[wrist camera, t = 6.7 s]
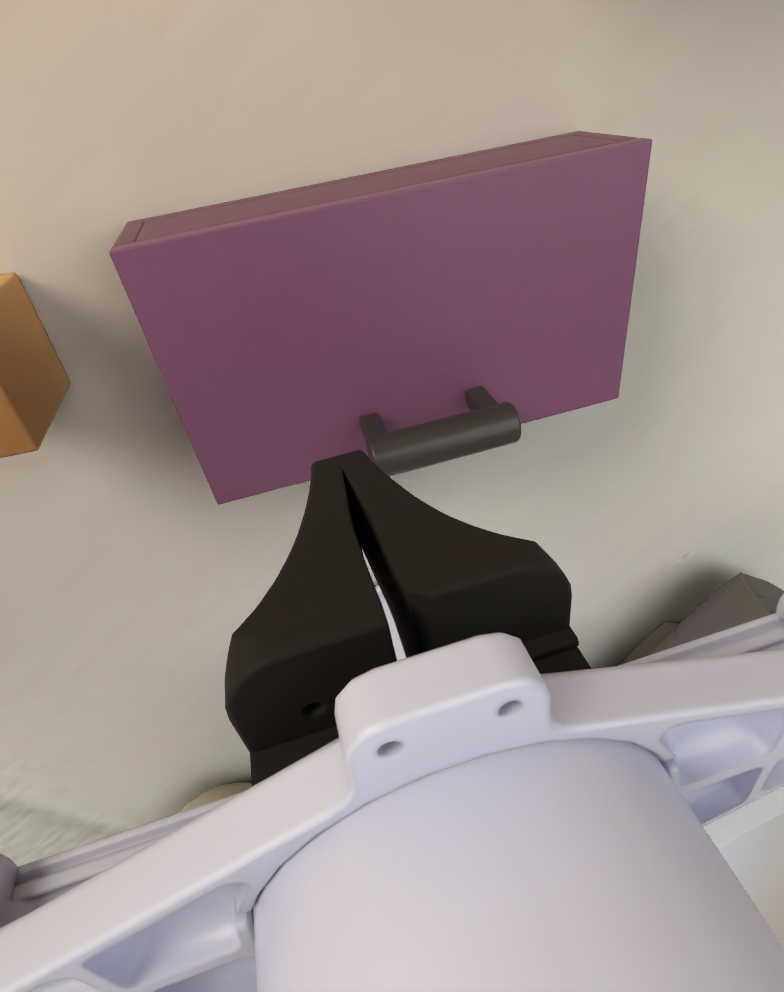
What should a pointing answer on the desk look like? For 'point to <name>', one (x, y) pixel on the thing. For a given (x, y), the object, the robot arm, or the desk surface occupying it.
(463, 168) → the box
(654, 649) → the bluetooth speaker
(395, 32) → the desk surface
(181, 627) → the desk surface
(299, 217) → the lid
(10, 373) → the block
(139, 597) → the desk surface
